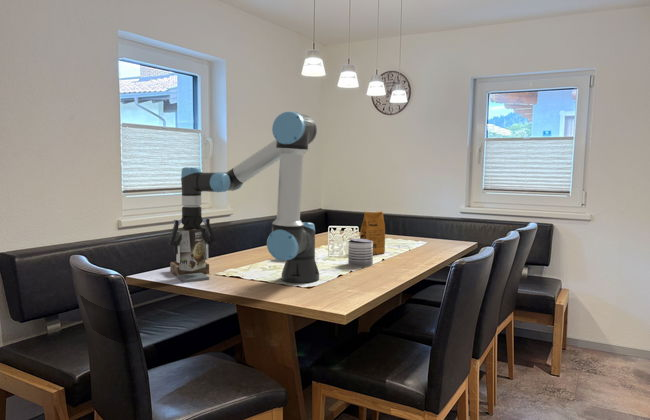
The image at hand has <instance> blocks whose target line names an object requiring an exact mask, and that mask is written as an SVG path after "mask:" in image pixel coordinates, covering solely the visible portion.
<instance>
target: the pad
mask: <svg viewBox="0 0 650 420" xmlns="http://www.w3.org/2000/svg"><path fill="white" fill-rule="evenodd" d="M176 277H177V279H179V280H180V281H181V282H183V283H192V282H193V283H194V282H199V281H209V280H210V276H208V275H207V274H203V273H193V274H184V275H177V276H176Z"/></svg>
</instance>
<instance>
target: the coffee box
mask: <svg viewBox="0 0 650 420" xmlns="http://www.w3.org/2000/svg"><path fill="white" fill-rule="evenodd" d="M202 229H203V231H204V232H205V233H206V227H202ZM181 233H182V239H181V241H180V243H179V244H178V246H180V263H179V269H180V270H186V271H194V270H197V269H201V268H204V267H206V266H205V262H206V260H205V243H206V241H205V239H204V237H203V235H202V230H200V229H188V230H182V229H178V235H179V236H180V234H181Z"/></svg>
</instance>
